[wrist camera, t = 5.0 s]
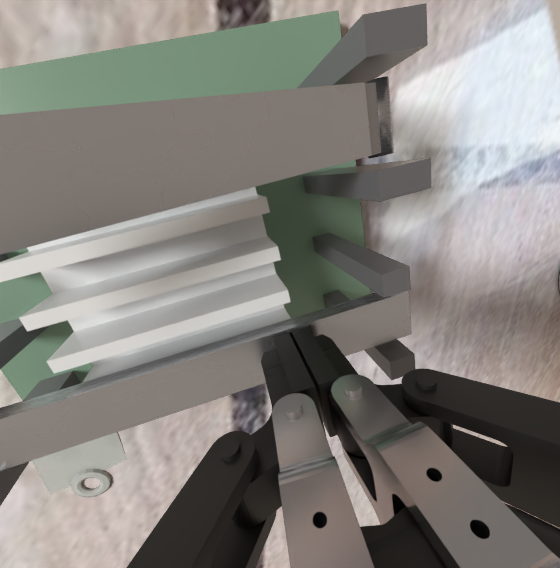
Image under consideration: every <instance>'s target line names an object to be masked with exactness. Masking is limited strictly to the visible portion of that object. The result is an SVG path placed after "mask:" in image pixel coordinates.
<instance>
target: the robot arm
mask: <svg viewBox="0 0 560 568" xmlns="http://www.w3.org/2000/svg"><path fill="white" fill-rule="evenodd" d="M559 289H560V275H559ZM291 335H292V338H291V336H290V334H289V333H285V334H282V335H279V336H276V337H272V339H273V343H274V346H275V349H274V350H271V351H268V352H264V353H263V356H262V359H261V364H262V368H263V372H264V376H265V380H266V384H267V388H268V392H269V396H270V399H271V403H272V413H271V416H270V418H269V420H268V421H267V423H266V424H265V425H264V426H263V427H262V428H260V429H259V430H258V431H256V432H255V433H253V434H252V435H249V434H248V433H246V432H243V431H233V432H229V433H227V434H225V435H223V436H222V437H220V438H219V439H218V440H217V441H216V442H215V443H214V444H213V445H212V446H211V448H210V449H209V451H208V452H207V454H206V455H205V456H204V458H203V459H202V461H201V462H200V464H199V465H198V466H197V468H196V469H195V471H194V472H193V474H192V475H191V476H190V478H189V479H188V481H187V482H186V484H185V485H184V486H183V488H182V489H181V491H180V492H179V494H178V495H177V496H176V498H175V499H174V501H173V502H172V504H171V505H170V506H169V508H168V509H167V511H166V512H165V514H164V515H163V517H162V518H161V519H160V521H159V522H158V524H157V525H156V527H155V528H154V529H153V531H152V532H151V534H150V535H149V537H148V538H147V539H146V541H145V542H144V544H143V545H142V547H141V548H140V549H139V551H138V552H137V554H136V555H135V557H134V558H133V559H132V561H131V562H130V564H129V565H128V567H127V568H255V567H256V565H257V562H258V560H259V557H260V555H261V552H262V550H263V547H264V545H265V542H266V540H267V538H268V535H269V533H270V530H271V528H272V525H273V523H274V520H275V517H276V510H277V509H279V508H280V507H281V506H282V509H283V517H284V524H285V531H286V538H287V545H288V552H289V560H290V567H291V568H560V529H558V528H556V527H554V526H552V525H550V524H548V523H546V522H544V521H547V522H549V523H551V524H553V525H556V526H557V527H560V403H559V402H555V401H551V400H547V399H543V398H539V397H536V396H532V395H528V394H524V393H520V392H516V391H512V390H508V389H504V388H501V387H497V386H493V385H489V384H485V383H481V382H477V381H473V380H470V379H466V378H462V377H458V376H454V375H450V374H446V373H442V372H438V371H435V370H430V369H415V370H412V371H409V372H408V373H406V374H405V375H404V376H403V378H402V384H395V385H376V384H374V383H373V382H372V381H371V380H370V379H368V378H367V377H364V376H361V375H358V373H357V372H356V371H355V369H354V368H353V367H352V365H351V364H350V363H349V361H348V360H347V359H346V357H345V356H344V355H343V353H342V352H341V351H340V349H339V348H338V347H337V345H336V344H335V342H334V341H333V340H332V339H331V338H329V337H327V336H325V335H323V334H321V335H318V336H315V337H314V336H313V335H312V333H311V331H310V330H309V328H308V327H304V328H301V329H298V330H295V331H292V332H291ZM292 339H293V340H292ZM323 423H324V425H325V427H326V429H327V431H328V434H329V436H330V437H332V436H335V435H338V437H339V439H340V441H341V444H342V449H343V453H344V456H345V458H346V460H347V462H348V463H349V465H350V467H351V469H352V470H353V472H354V474H355V476H356V478H357V479H358V481H359V483H360V485H361V486H362V488H363V490H364V492H365V494H366V495H367V497H368V499H369V501H370V502H371V504H372V506H373V508H374V510H375V512H376V514H377V516H378V519H379V521H380V524H381V525H376V526H363V527H360V526H359V523H358V520H357V517H356V514H355V512H354V509H353V506H352V503H351V500H350V497H349V495H348V492H347V489H346V486H345V483H344V481H343V478H342V475H341V472H340V469H339V466H338V464H337V461H336V459H335V457H333V455H332V453H331V450H330V447H329V444H328V441H327V438H326V434H325V429H324V425H323ZM453 425H456V426H459V427H462V428H465V429H467V430H470V431H473V432H476V433H479V434H482V435H484V436H487V437H490V438H493V439H496V440H498V441H500V442H502V443H504V444H505V445H507V446H508V447H505V446H501V445H498V444H495V443H492V442H490V441H487V440H484V439H481V438H479V437H476V436H473V435H470V434H468V433H465V432H462V431H459V430H456V429H454V428H453ZM502 501H503V502H506V503H508V504H510V505H512V506H510V505H507V504H505V503H503V502H502ZM513 506H514V507H513ZM515 507H516V508H515ZM517 508H519V509H521V510H523V511H525V512H523V511H521V510H519V509H517ZM526 512H527V513H526ZM528 513H529V514H528ZM530 514H531V515H530ZM532 515H534V516H536V517H538V518H540V519H542V520H544V521H542V520H540V519H538V518H536V517H534V516H532Z"/></svg>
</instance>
